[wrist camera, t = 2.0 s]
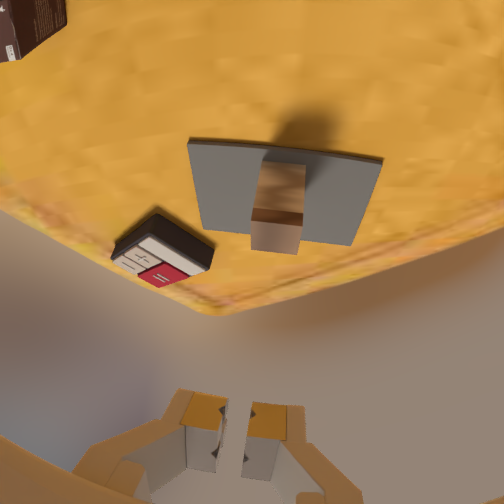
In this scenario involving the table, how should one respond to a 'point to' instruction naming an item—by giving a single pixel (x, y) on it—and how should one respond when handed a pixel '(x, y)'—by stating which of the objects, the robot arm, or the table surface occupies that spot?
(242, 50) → the table surface
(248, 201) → the mat
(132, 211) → the table surface
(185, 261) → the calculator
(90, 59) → the table surface
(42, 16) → the box
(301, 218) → the block
